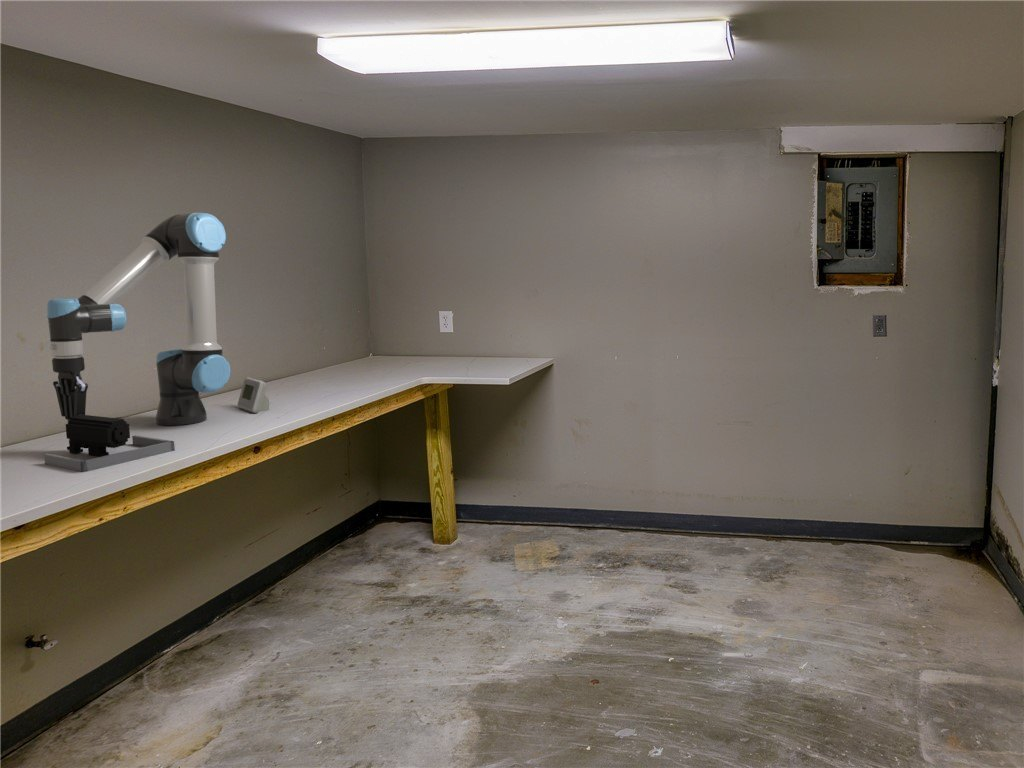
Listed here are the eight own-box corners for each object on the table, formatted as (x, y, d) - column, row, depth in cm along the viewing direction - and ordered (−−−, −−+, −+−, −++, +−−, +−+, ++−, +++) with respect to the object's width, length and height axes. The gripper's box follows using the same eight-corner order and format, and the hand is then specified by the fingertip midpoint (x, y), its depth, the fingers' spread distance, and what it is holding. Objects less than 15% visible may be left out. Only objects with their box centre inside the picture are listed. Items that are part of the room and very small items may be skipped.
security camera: (82, 448, 220) (79, 412, 218) (133, 455, 213) (130, 418, 212) (59, 454, 213) (56, 417, 212) (112, 461, 207) (109, 423, 205)
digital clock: (237, 408, 280) (234, 377, 279) (263, 405, 284) (261, 375, 283) (243, 415, 266) (241, 383, 264) (271, 412, 270) (269, 381, 268)
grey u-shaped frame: (136, 443, 226) (135, 435, 225) (174, 450, 217) (174, 441, 216) (45, 463, 205) (43, 454, 204) (83, 471, 196) (82, 461, 195)
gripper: (40, 356, 215) (48, 443, 219) (67, 359, 208) (75, 448, 212) (68, 354, 221) (75, 438, 225) (95, 356, 215) (102, 443, 218)
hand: (75, 443), depth 218 cm, fingers closed
